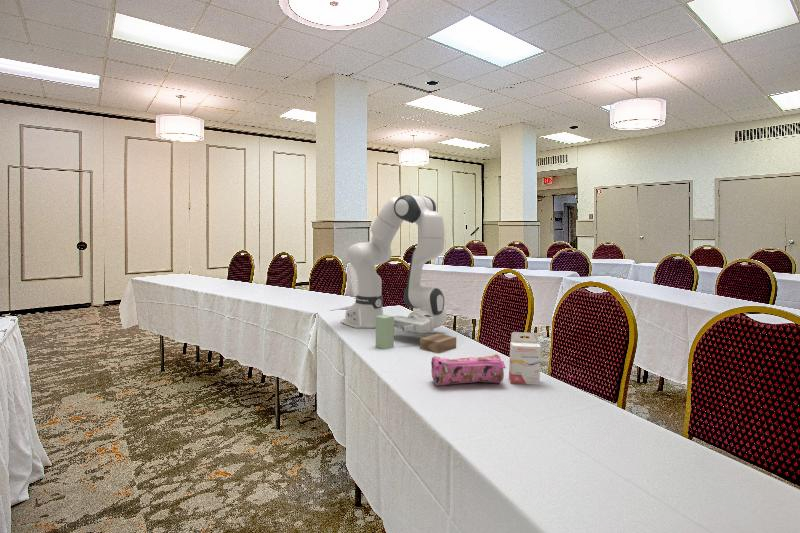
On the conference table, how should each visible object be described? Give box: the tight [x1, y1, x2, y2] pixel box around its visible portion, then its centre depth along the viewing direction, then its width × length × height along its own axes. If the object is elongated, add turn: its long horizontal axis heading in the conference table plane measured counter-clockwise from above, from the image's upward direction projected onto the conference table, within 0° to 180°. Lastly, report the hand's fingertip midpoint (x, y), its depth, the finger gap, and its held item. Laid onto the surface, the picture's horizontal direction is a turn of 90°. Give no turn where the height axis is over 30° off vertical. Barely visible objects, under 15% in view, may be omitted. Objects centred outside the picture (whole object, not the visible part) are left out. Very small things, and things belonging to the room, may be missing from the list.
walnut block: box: [419, 333, 457, 354], centre depth 181 cm, size 9×11×4 cm
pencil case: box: [430, 353, 507, 387], centre depth 141 cm, size 21×9×9 cm, turn 96°
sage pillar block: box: [375, 314, 395, 350], centre depth 183 cm, size 5×5×12 cm
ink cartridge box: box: [508, 331, 542, 386], centre depth 143 cm, size 9×5×15 cm, turn 84°
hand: (394, 326), depth 186 cm, fingers open, 8 cm apart
